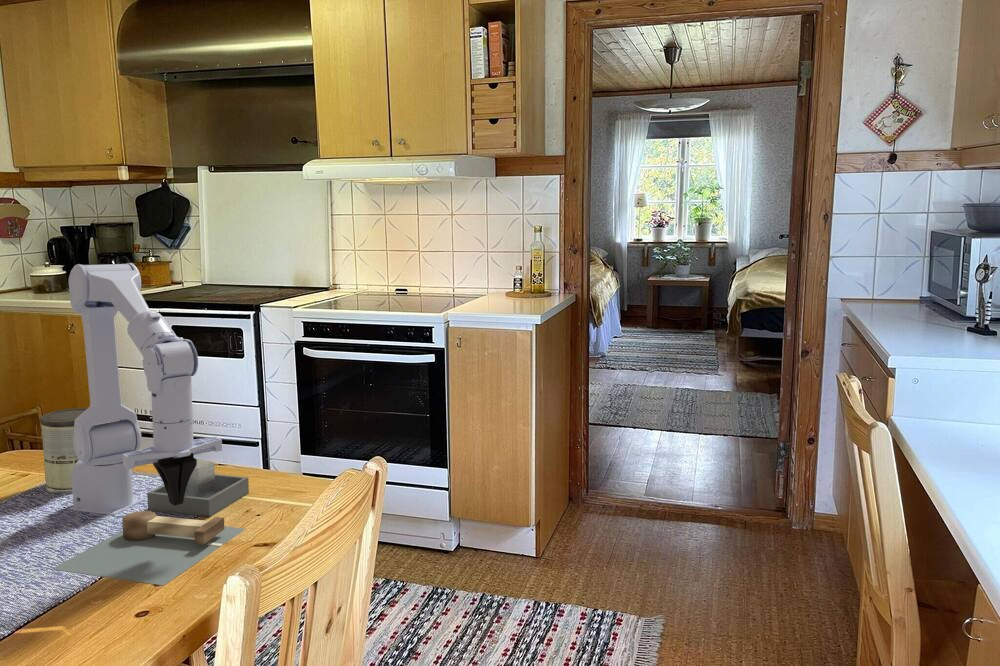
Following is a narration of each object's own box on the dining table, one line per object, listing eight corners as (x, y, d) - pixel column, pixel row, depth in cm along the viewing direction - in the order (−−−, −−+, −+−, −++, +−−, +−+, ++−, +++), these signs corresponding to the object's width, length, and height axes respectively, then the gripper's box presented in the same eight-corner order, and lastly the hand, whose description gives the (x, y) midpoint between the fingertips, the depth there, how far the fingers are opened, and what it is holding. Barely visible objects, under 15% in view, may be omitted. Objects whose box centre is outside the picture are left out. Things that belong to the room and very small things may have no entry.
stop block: (182, 502, 139) (180, 465, 138) (198, 495, 143) (197, 459, 142) (199, 505, 138) (198, 468, 137) (215, 498, 141) (214, 462, 140)
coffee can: (40, 482, 150) (36, 412, 148) (99, 472, 156) (95, 405, 154) (49, 497, 142) (44, 423, 140) (110, 486, 148) (106, 416, 146)
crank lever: (114, 540, 123) (113, 522, 122) (138, 525, 128) (137, 508, 128) (204, 549, 120) (203, 531, 119) (224, 534, 126) (223, 516, 125)
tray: (148, 511, 136) (147, 492, 136) (191, 488, 148) (190, 471, 147) (209, 519, 133) (209, 500, 133) (248, 495, 145) (248, 477, 145)
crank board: (51, 571, 113) (51, 568, 113) (148, 518, 133) (148, 516, 133) (163, 588, 108) (163, 584, 108) (245, 531, 128) (245, 528, 128)
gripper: (132, 432, 110) (137, 522, 112) (229, 416, 120) (231, 498, 122) (116, 422, 115) (120, 508, 117) (210, 407, 125) (212, 487, 127)
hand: (176, 503), depth 120 cm, fingers closed
